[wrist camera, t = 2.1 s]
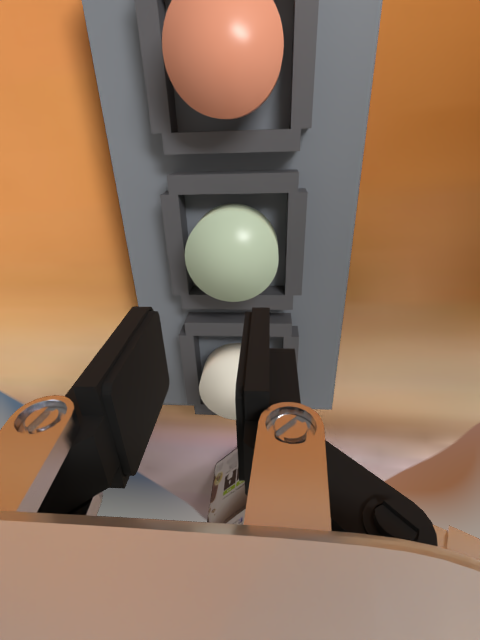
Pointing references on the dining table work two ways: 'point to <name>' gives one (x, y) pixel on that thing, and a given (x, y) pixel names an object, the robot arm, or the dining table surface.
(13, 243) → the dining table surface
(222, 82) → the terracotta button
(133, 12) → the button panel
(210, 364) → the cream button
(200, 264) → the sage button
